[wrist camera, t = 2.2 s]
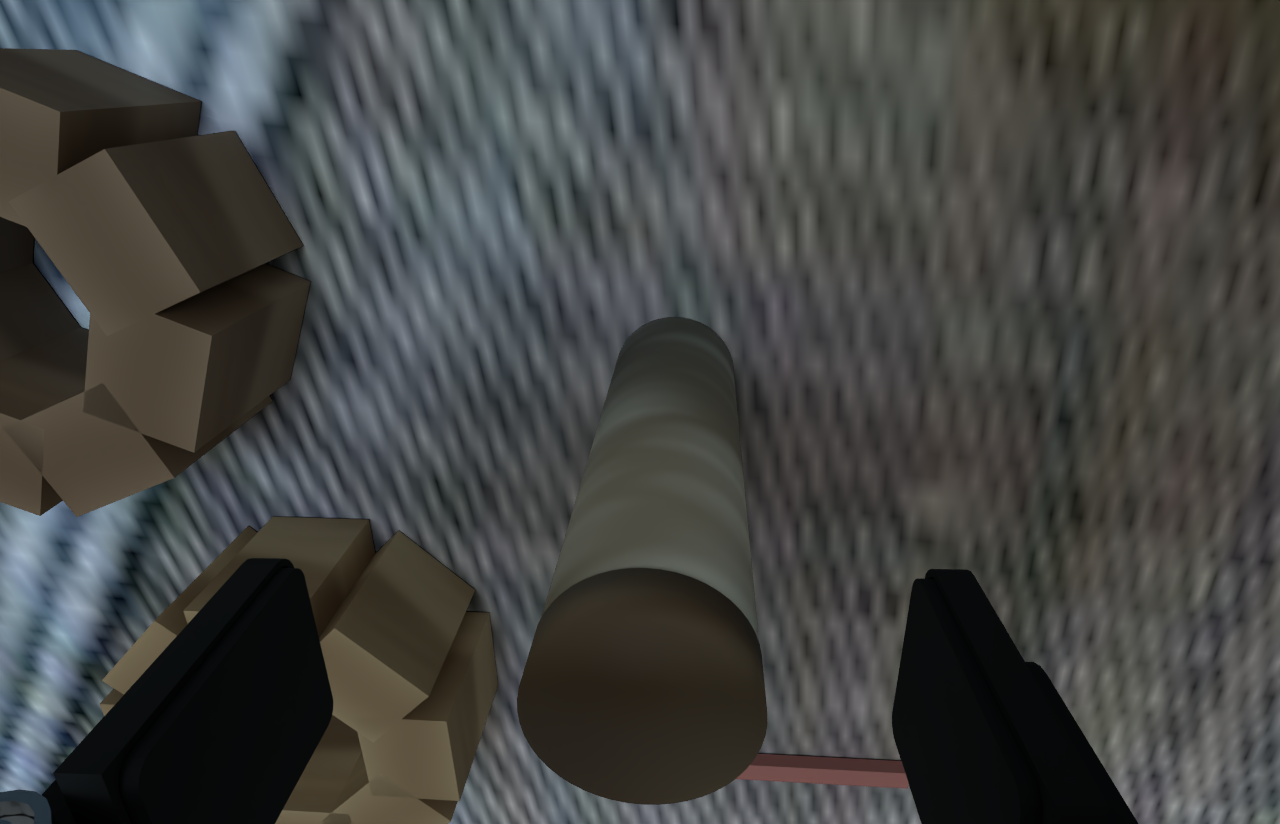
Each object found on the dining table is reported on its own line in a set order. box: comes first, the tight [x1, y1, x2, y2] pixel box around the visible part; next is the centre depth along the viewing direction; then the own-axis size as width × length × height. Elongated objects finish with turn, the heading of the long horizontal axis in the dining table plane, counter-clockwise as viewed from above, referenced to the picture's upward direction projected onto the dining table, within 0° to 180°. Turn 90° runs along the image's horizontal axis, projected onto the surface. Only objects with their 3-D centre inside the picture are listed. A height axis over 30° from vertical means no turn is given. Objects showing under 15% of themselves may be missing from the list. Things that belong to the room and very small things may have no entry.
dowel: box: [517, 317, 767, 805], centre depth 15 cm, size 3×3×12 cm
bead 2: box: [100, 517, 498, 824], centre depth 24 cm, size 10×10×4 cm
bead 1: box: [0, 48, 311, 517], centre depth 19 cm, size 10×10×4 cm
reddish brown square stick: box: [736, 754, 909, 788], centre depth 26 cm, size 12×1×1 cm, turn 90°
